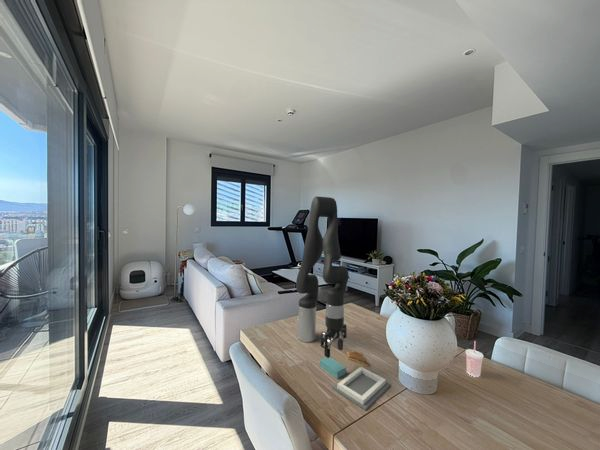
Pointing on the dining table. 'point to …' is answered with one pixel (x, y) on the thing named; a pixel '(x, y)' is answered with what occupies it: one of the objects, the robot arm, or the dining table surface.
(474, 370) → the beverage cup
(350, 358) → the shard
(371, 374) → the mat
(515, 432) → the dining table surface
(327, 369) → the teal block
